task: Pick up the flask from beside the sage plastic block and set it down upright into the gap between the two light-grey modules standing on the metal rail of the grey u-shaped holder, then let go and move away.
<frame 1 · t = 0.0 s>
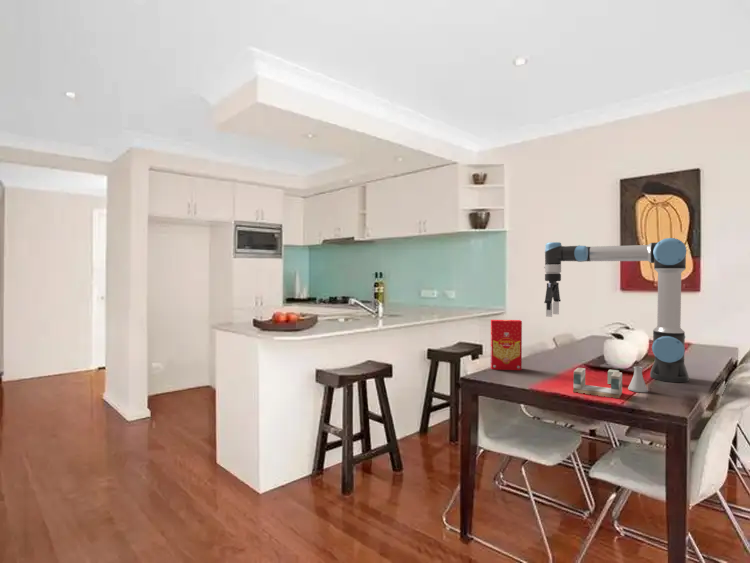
hand: (552, 315, 228), 28 cm above the table, tool pointing down, fingers open, 13 cm apart
flask: (637, 391, 191), on the table
food packaging: (505, 369, 234), on the table
grey u-shaped holder: (597, 392, 188), on the table
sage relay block: (613, 384, 202), on the table
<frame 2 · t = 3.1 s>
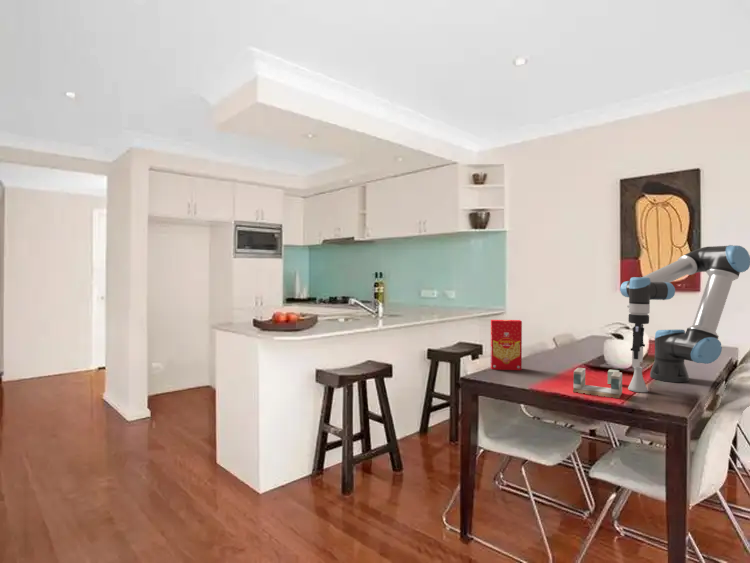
hand: (637, 364, 191), 11 cm above the table, tool pointing down, fingers open, 13 cm apart
nothing on the table moved.
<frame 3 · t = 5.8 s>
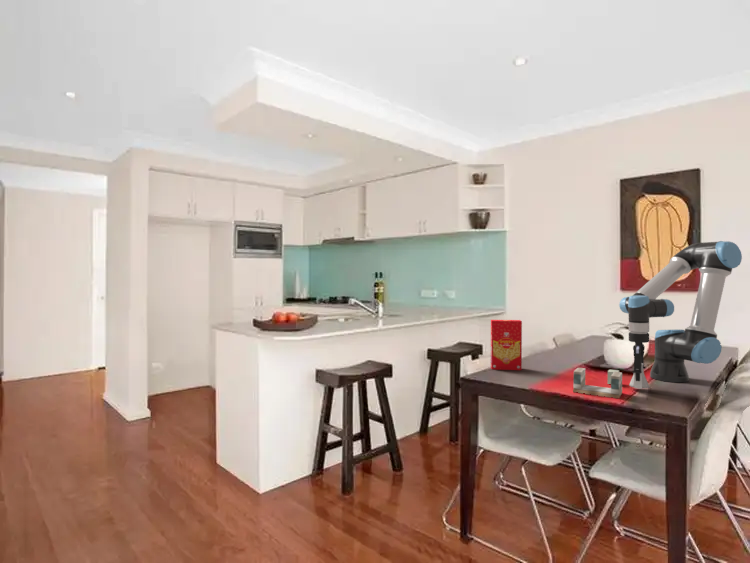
hand: (639, 386, 191), 2 cm above the table, tool pointing down, fingers closed on flask, 8 cm apart
flask: (639, 387, 191), point 1 cm above the table, touching gripper
everything else where it was.
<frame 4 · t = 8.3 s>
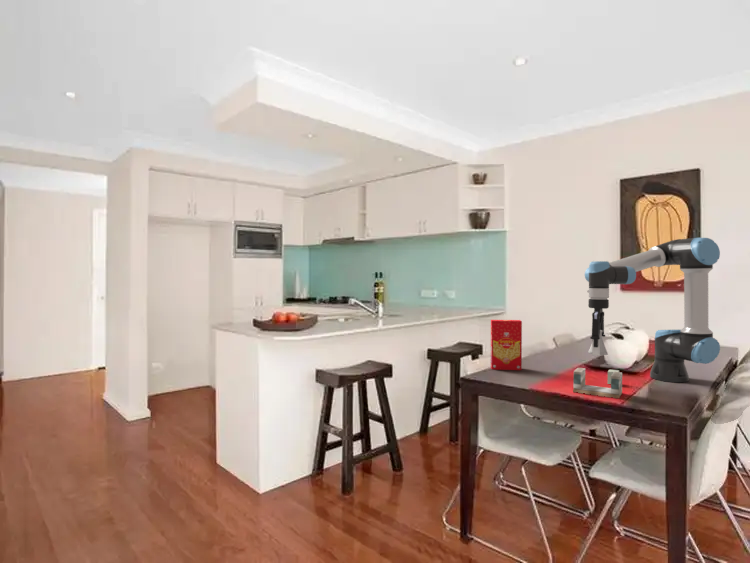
hand: (597, 353, 188), 16 cm above the table, tool pointing down, fingers closed on flask, 8 cm apart
flask: (597, 354, 188), point 16 cm above the table, touching gripper
everything else where it was.
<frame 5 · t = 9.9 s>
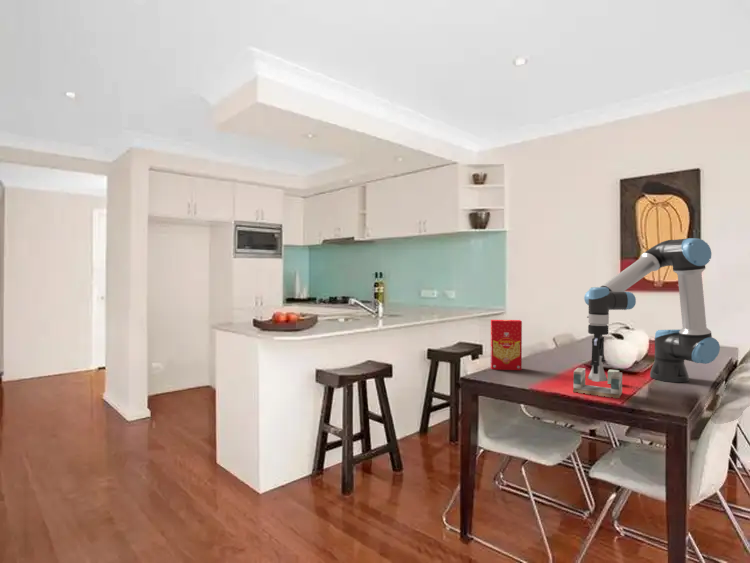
hand: (597, 379, 188), 6 cm above the table, tool pointing down, fingers closed on flask, 8 cm apart
flask: (597, 380, 188), point 5 cm above the table, touching gripper
everything else where it was.
when the fingers open (4 cm above the table, at t = 11.2 s): flask drops 2 cm, resting on grey u-shaped holder.
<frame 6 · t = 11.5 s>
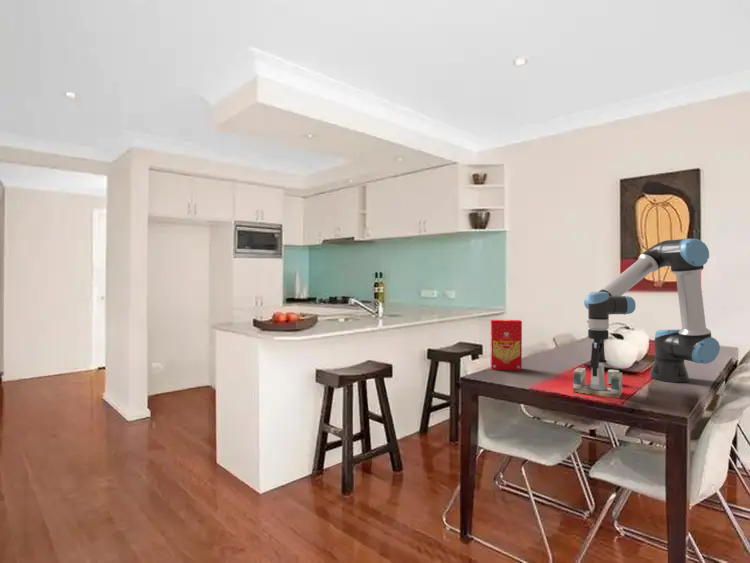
hand: (597, 380, 188), 5 cm above the table, tool pointing down, fingers open, 12 cm apart
flask: (597, 389, 188), point 1 cm above the table, touching grey u-shaped holder
everything else where it was.
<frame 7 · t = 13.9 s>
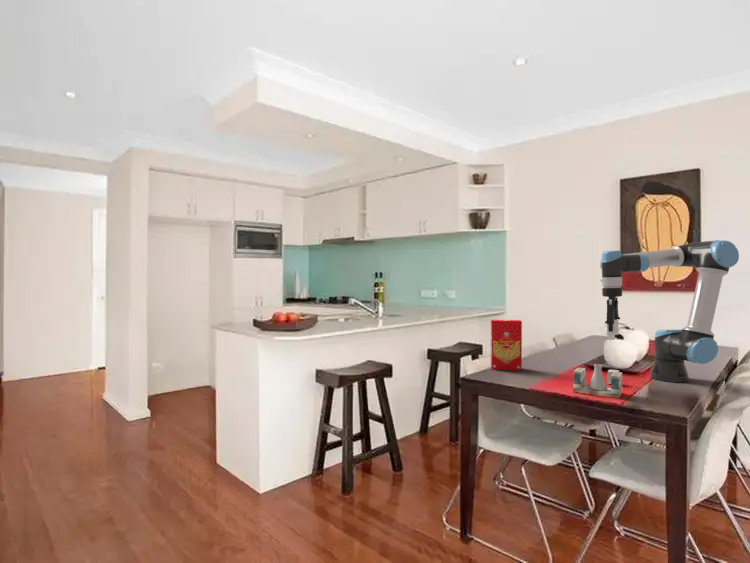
hand: (613, 337, 193), 22 cm above the table, tool pointing down, fingers open, 13 cm apart
nothing on the table moved.
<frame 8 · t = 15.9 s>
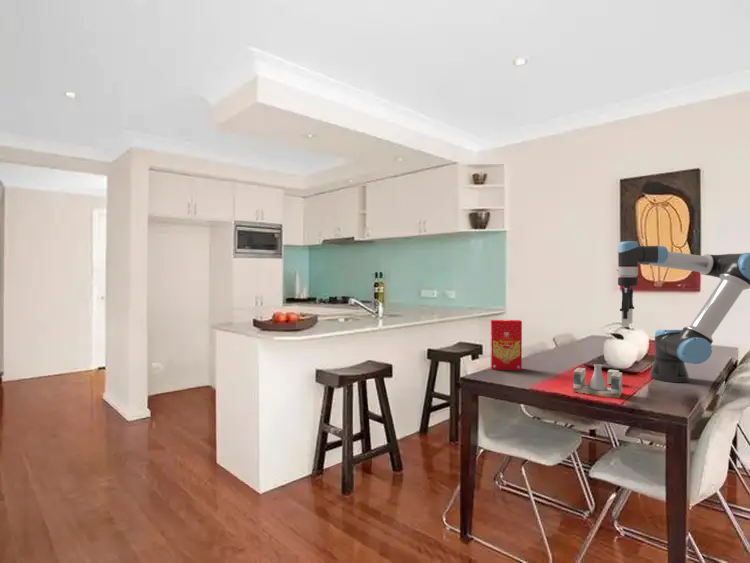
hand: (627, 325, 199), 27 cm above the table, tool pointing down, fingers open, 13 cm apart
nothing on the table moved.
at the end: flask 0.1 cm off-centre on the grey u-shaped holder, point 1.4 cm above the grey u-shaped holder's base; flask tilted 0°; the gripper is holding nothing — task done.
